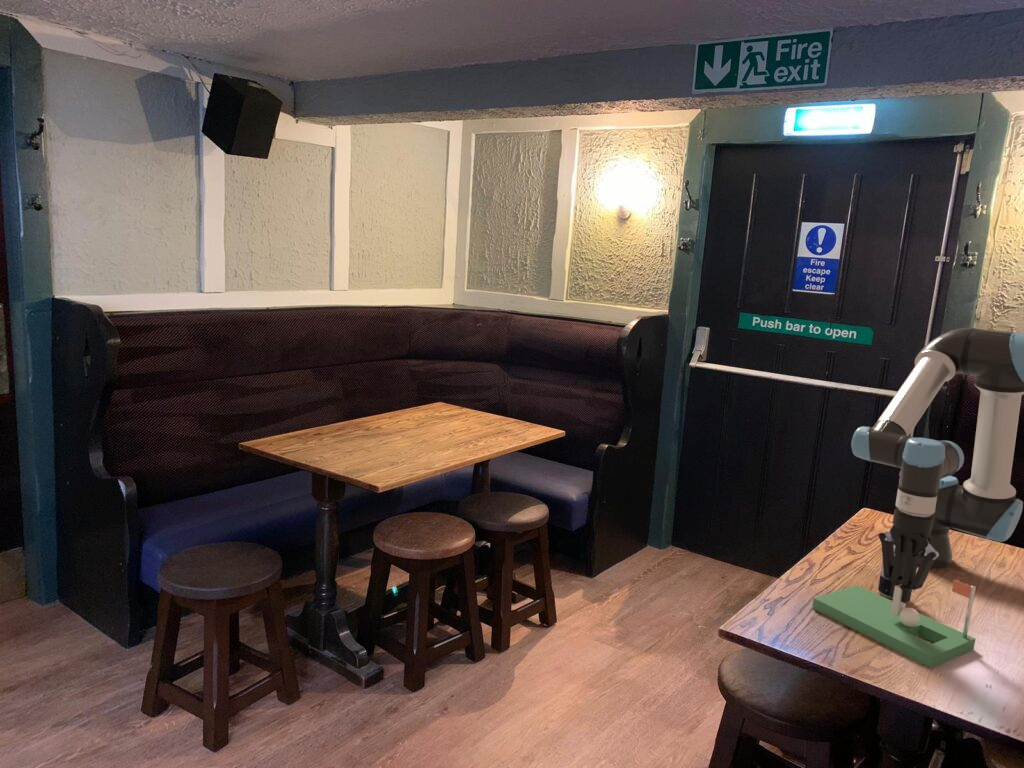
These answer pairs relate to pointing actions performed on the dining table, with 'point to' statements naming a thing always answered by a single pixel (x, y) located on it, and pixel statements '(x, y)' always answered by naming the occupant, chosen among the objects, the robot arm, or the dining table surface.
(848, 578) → the dining table surface
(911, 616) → the ball
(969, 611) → the flag pin
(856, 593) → the putting mat
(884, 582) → the beverage can
